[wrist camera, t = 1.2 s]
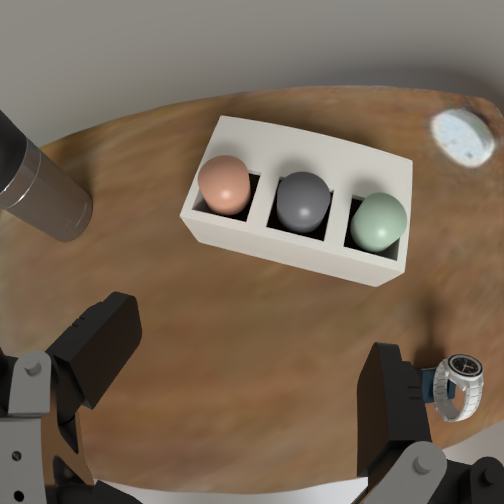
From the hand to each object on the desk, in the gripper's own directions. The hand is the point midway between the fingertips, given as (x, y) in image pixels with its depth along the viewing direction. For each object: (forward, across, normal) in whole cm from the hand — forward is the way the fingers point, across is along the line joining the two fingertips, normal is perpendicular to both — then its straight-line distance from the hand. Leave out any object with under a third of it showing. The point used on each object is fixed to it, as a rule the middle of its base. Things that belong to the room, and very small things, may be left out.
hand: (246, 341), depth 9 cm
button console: (+32, 0, +6) cm, 32 cm away
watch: (+20, -22, +22) cm, 37 cm away
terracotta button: (+24, +7, +2) cm, 25 cm away
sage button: (+24, -8, +4) cm, 25 cm away
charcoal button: (+24, 0, +3) cm, 24 cm away
